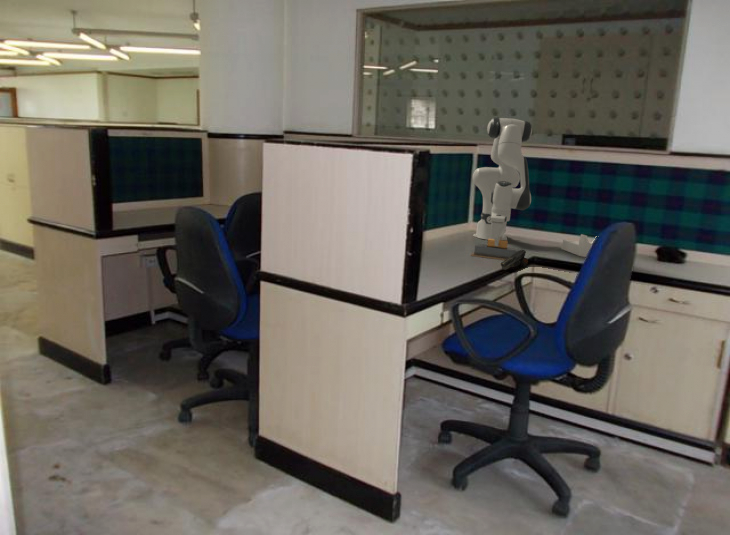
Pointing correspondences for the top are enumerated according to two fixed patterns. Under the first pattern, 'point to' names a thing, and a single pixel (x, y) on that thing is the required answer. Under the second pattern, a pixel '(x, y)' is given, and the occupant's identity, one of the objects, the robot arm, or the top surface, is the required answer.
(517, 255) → the toy gun
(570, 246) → the tape dispenser
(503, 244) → the orange arch block
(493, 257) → the rail board
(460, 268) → the top surface
